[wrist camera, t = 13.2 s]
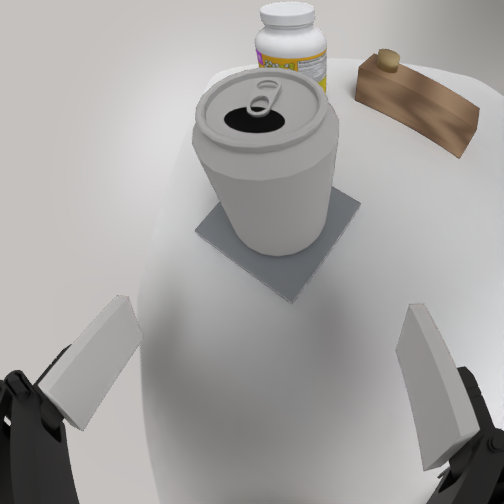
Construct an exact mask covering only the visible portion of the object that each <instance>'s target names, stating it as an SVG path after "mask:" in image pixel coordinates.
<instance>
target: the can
mask: <svg viewBox="0 0 504 504" xmlns="http://www.w3.org/2000/svg"><path fill="white" fill-rule="evenodd" d="M195 120H196V124H195V126H194V128H193V139H192V145H193V147H194V149H195V151H196V154H197V156H198V158H199V160H200V162H201V164H202V166H203V168H204V170H205V172H206V174H207V176H208V178H209V180H210V182H211V184H212V186H213V188H214V190H215V192H216V194H217V196H218V198H219V200H220V202H221V204H222V206H223V208H224V210H225V212H226V214H227V216H228V218H229V220H230V222H231V224H232V226H233V228H234V230H235V232H236V234H237V236H238V238H239V239H240V240H241V241H242V242H243V243H244V244H245V245H246V246H247V247H249V248H251V249H253V250H255V251H257V252H259V253H261V254H265V255H272V256H283V255H290V254H295V253H297V252H299V251H301V250H303V249H305V248H307V247H308V246H309V245H310V244H312V243H313V242H314V241H315V240H316V239H317V238H318V237H319V235H320V233H321V231H322V229H323V227H324V225H325V221H326V216H327V210H328V205H329V199H330V193H331V186H332V180H333V173H334V167H335V160H336V152H337V145H338V137H339V120H338V117H337V115H336V113H335V111H334V109H333V107H332V106H331V105H330V104H329V103H328V98H327V96H326V94H325V92H324V90H323V88H322V87H321V86H320V85H319V84H318V83H317V82H315V81H314V80H313V79H312V78H310V77H308V76H306V75H304V74H301V73H299V72H297V71H293V70H288V69H283V68H256V69H250V70H245V71H242V72H239V73H236V74H233V75H230V76H228V77H226V78H224V79H223V80H221V81H219V82H217V83H216V84H214V85H213V86H212V87H211V88H210V89H209V90H208V91H207V92H206V93H205V94H204V95H203V96H202V98H201V99H200V101H199V103H198V105H197V107H196V116H195Z"/></svg>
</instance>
